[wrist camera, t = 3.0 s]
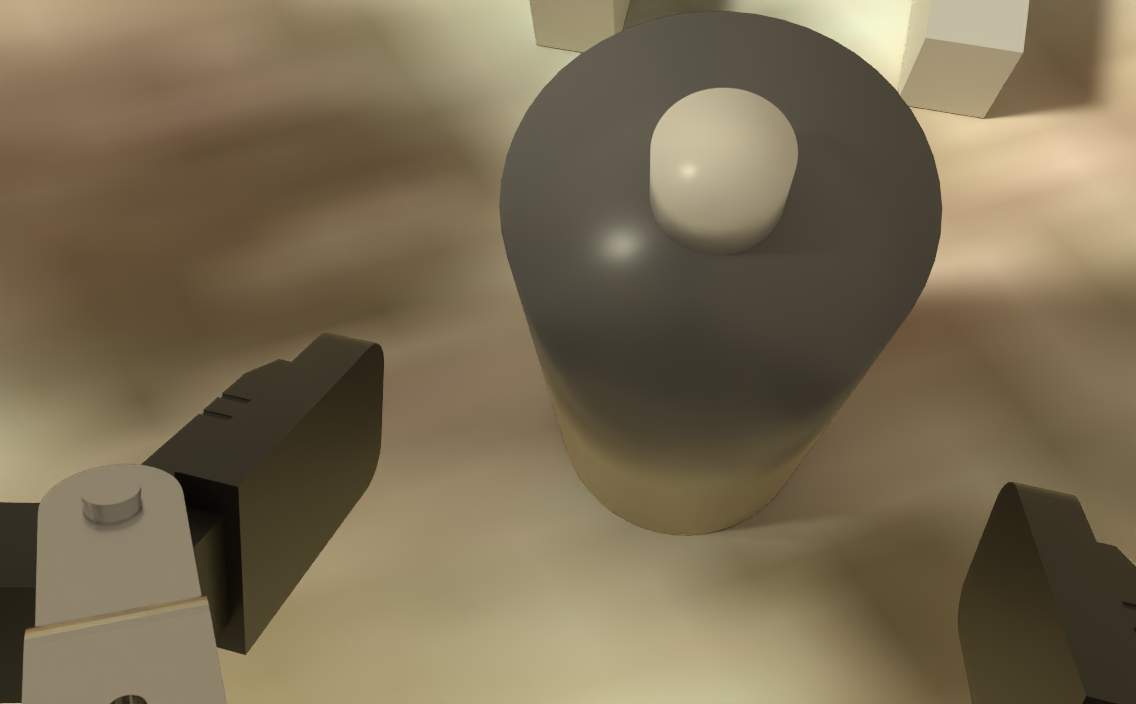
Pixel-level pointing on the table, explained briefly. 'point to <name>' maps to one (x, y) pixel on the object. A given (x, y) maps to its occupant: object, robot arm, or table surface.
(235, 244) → the table surface
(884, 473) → the table surface
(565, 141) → the dark grey tube
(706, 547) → the table surface
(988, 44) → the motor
